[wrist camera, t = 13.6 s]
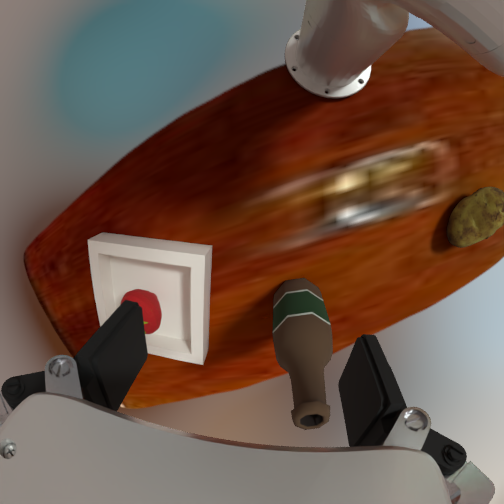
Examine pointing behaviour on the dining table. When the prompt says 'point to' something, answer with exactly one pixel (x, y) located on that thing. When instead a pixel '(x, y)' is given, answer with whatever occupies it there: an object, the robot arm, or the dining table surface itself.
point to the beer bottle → (303, 348)
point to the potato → (476, 217)
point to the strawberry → (146, 308)
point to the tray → (157, 288)
